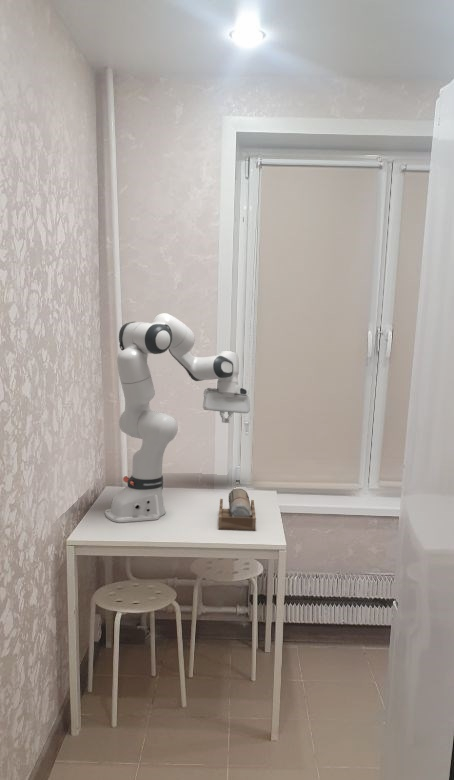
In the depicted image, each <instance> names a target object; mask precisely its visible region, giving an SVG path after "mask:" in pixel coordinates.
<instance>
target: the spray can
mask: <svg viewBox="0 0 454 780" xmlns="http://www.w3.org/2000/svg"><path fill="white" fill-rule="evenodd" d="M228 506H229V507H228V509H230V515H231V517H252V511H251V500H250V497H249V494H248V492H247V491H246V490H245V489H243V488H234V489H232V490H231V491H230V492H229V493H228Z"/></svg>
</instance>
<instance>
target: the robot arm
mask: <svg viewBox="0 0 454 780" xmlns="http://www.w3.org/2000/svg"><path fill="white" fill-rule="evenodd" d="M195 341H196V339H195V333H194V331H193V330H192V329H191V328H190V327H189V326H188V325H186V324H185V323H184V322H182V321H181V320H180V319H178V318H177V317H175V316H174V315H171V314H169V313H167V312H163V313H159V314H157V315H156V316H155V317H154V318H153V320H152V321H151V322H147V321H131V322H130V321H129V322H126V323H125V324H123V325H122V326H121V327H120V329H119V332H118V342H119V348H120V350H121V351H119V353H118V355H117V357H116V358H117V360H116V362H117V371H118V377H119V380H120V383H121V384H120V385H121V388H122V393H123V396H124V402H125V406H124V411H123V412H122V413H121V415H120V417H119V421H118V423H119V424H118V425H119V429H120V430H121V432H123V433H124V434H126V435H127V436H129V437H131V438H134V439H135V438H136V439H141V440H142V442H141V447H140V449H139V450H137V451H136V452H135V453H134V454H133V455H132V466H131V468H132V474H131V476H124V477H123V478H122V480H123V482H125V483H127V486H125V488H124V489H122V490H121V491H120V492H118V493H117V494H116V495H115V496H114V497H113V498H112V501H111V506H110V508H108V509H105V510H104V516H105V517H106V518H107V519H108V520H110V521H112V522H114V523H129V522H143V521H154V520H155V521H157V520H159V519H160V517H162V516H163V515H165V514H166V509H165V505H164V499H163V489H164V476H163V459H164V454H165V451H166V448H167V446H168V445H169V443H170V442H172V441H173V440H174V439H175V438H176V436H177V433H178V430H179V428H178V427H179V425H178V422H177V420H176V418H175V417H173V416H171V415H169V414H167V413H164V412H159V411H156V410H155V411H154V410H152V409H151V408H150V402H151V401H152V400H153V398H154V397H155V394H156V392H155V391H156V389H155V386H154V383H153V378H152V375H151V371H150V367H149V364H148V356H149V354H153V355H161V354H164V353H165V352H167V351H169V354H170V355H171V357H173V358H174V360H175V361H177V363H179V365H180V366H182V367H183V368H184V369H185V371H186V373H187V374H188V376H189V377H190V378H191V379H192V380H193V381H195V382H201V381H208V380H217V383H216V388H212V387H207V388H206V389H204V391H203V397H204V398H203V402H202V409H203V410H204V411H210V412H211V411H213V412H219V415H220V418H221V423H223V424H224V423H225V424H230V422H231V418H232V417H233V415H234V413H235V414H236V413H237V414H248V413H249V412H250V411H251V403H250V402H251V399H250V396H248V395H249V393H250V392H249V390H248V389H246V388H244V387H242V386H239V380H238V376H239V374H240V362H239V356H238V353H236V352H235V351H232V350H229V349H228V350H226V349H225V350H221V351H220V353H218V354H217V355H216V354H215V355H210V356H194V355H193V354H192V353H191V350H192V349H193V347H194V344H195ZM225 413H227V417H225Z"/></svg>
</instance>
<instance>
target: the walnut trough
mask: <svg viewBox="0 0 454 780" xmlns="http://www.w3.org/2000/svg"><path fill="white" fill-rule="evenodd" d="M223 502H224V499H223V498H220V499H219V508H218V509H219V511H218V524H217V526H218V529H217V530H221V531H248V532H249V531H250V532H252V531H253V532H256V520H257V519H256V510H255V507H256V506H255V500H254V499H250V506H251V511H252V517H231V515H230V509H229V508H224V507H223V506H224V505H223V504H224V503H223Z"/></svg>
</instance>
